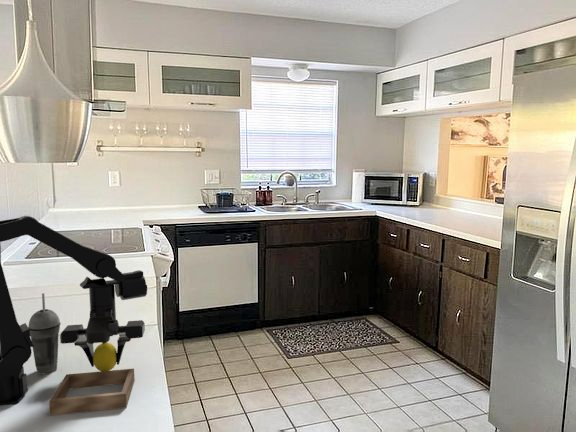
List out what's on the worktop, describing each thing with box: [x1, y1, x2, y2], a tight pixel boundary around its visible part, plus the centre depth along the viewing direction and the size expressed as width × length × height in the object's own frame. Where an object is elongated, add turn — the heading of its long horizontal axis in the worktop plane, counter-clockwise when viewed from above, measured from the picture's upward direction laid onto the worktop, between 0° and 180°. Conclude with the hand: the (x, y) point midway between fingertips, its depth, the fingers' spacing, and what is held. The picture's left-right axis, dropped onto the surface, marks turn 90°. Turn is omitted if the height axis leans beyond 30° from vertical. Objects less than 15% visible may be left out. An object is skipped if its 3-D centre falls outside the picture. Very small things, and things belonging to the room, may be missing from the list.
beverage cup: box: [27, 293, 62, 375], centre depth 116 cm, size 7×7×20 cm
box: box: [48, 368, 136, 416], centre depth 102 cm, size 15×13×3 cm
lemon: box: [93, 342, 117, 372], centre depth 114 cm, size 6×6×8 cm
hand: (105, 365), depth 115 cm, fingers closed on lemon, 5 cm apart
